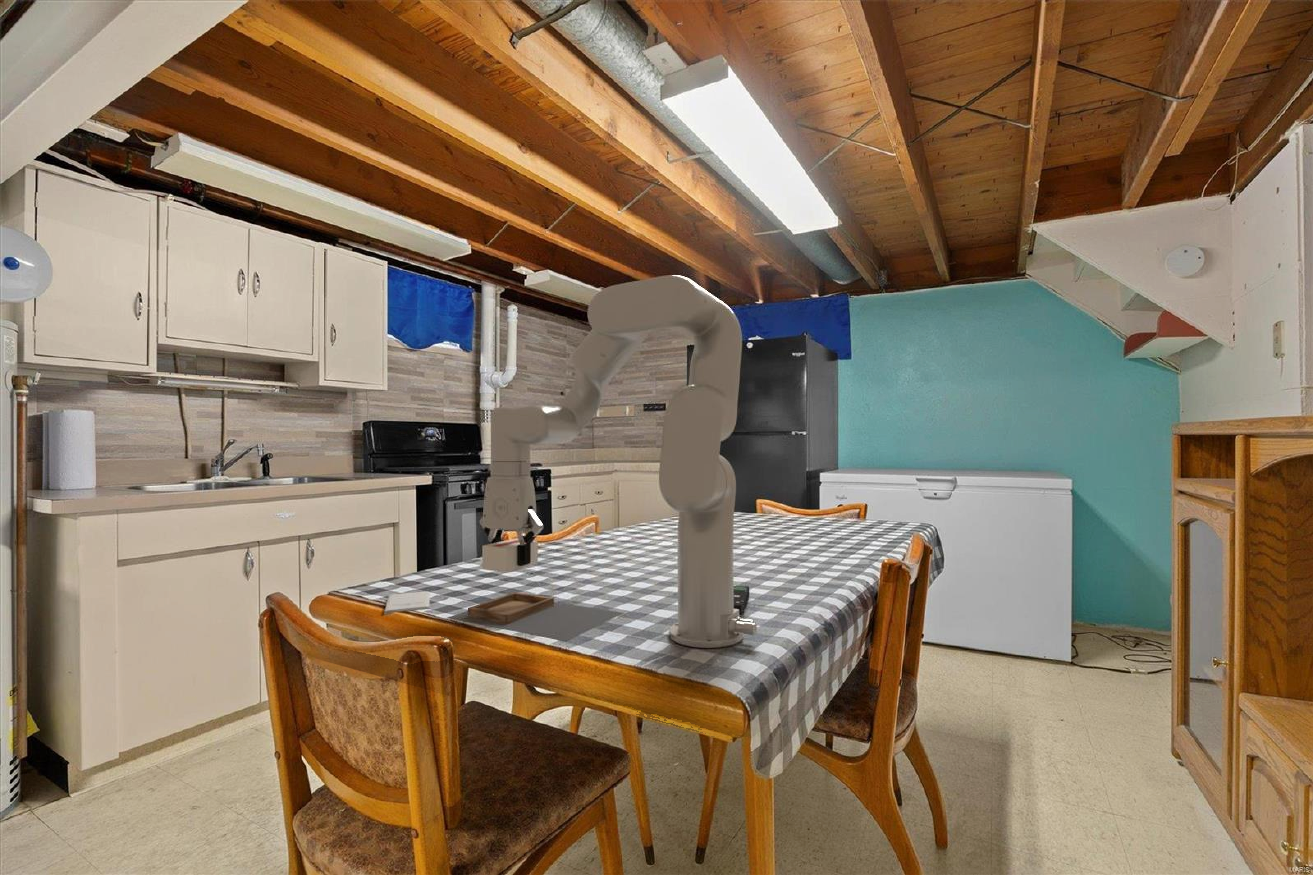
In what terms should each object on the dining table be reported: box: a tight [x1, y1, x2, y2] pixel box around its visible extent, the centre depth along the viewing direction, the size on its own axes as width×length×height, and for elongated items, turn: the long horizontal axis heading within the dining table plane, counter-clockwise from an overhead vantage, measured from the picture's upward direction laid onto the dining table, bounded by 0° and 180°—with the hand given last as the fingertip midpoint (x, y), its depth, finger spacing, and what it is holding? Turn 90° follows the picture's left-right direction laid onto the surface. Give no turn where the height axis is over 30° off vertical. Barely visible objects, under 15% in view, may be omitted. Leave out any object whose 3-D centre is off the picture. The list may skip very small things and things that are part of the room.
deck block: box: [481, 538, 539, 574], centre depth 118 cm, size 9×6×5 cm, turn 151°
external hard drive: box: [384, 591, 431, 616], centre depth 125 cm, size 2×8×12 cm
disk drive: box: [734, 585, 750, 615], centre depth 124 cm, size 10×3×15 cm
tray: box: [467, 591, 555, 624], centre depth 118 cm, size 10×13×2 cm
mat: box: [447, 601, 624, 642], centre depth 115 cm, size 28×18×1 cm, turn 61°
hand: (510, 562), depth 118 cm, fingers closed on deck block, 6 cm apart
